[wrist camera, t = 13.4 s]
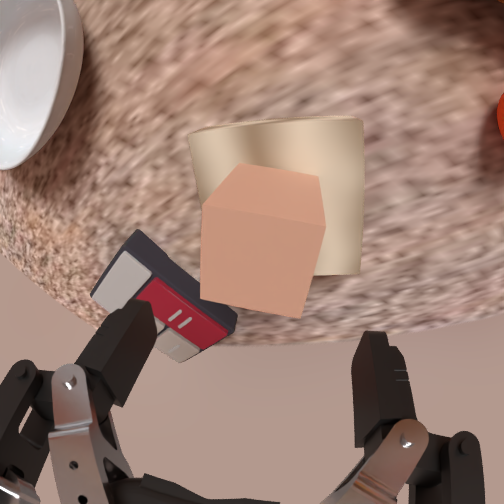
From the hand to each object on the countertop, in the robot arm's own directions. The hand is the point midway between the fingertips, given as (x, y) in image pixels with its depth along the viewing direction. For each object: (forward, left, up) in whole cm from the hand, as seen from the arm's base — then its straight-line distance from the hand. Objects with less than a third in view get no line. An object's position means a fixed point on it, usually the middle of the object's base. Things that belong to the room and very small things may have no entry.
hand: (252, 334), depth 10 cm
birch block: (0, 0, -17) cm, 17 cm away
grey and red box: (+13, +14, -18) cm, 26 cm away
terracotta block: (0, 0, -12) cm, 12 cm away
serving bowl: (+27, -14, -17) cm, 35 cm away
